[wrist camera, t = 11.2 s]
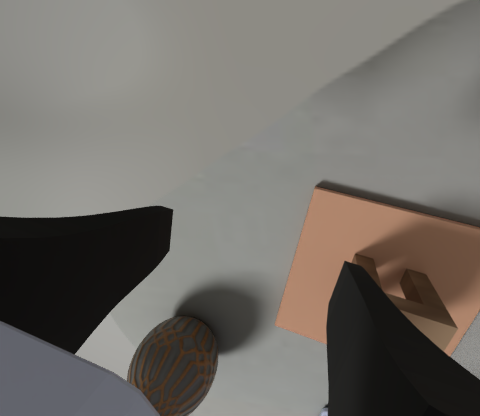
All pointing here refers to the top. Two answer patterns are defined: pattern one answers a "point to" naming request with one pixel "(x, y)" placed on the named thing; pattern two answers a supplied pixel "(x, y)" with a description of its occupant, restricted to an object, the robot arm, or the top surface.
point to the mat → (379, 259)
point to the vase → (175, 365)
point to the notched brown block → (418, 303)
